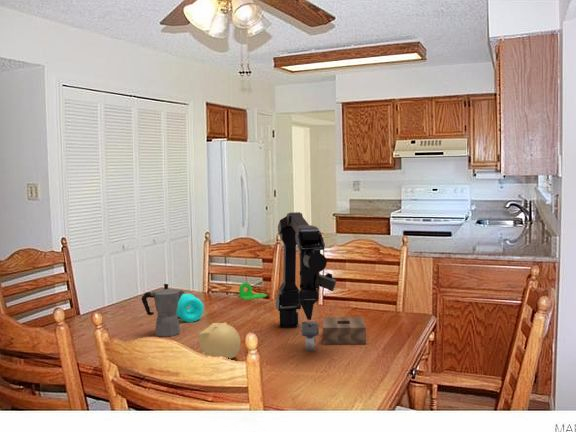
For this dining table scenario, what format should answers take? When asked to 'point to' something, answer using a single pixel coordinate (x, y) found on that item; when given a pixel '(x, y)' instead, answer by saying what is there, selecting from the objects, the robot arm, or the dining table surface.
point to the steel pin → (310, 334)
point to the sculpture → (220, 340)
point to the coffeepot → (165, 310)
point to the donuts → (193, 311)
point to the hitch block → (344, 330)
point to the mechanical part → (248, 292)
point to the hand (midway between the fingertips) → (309, 316)
